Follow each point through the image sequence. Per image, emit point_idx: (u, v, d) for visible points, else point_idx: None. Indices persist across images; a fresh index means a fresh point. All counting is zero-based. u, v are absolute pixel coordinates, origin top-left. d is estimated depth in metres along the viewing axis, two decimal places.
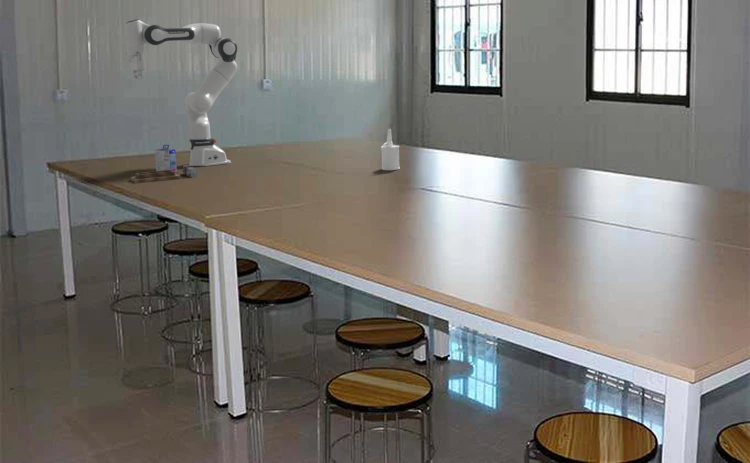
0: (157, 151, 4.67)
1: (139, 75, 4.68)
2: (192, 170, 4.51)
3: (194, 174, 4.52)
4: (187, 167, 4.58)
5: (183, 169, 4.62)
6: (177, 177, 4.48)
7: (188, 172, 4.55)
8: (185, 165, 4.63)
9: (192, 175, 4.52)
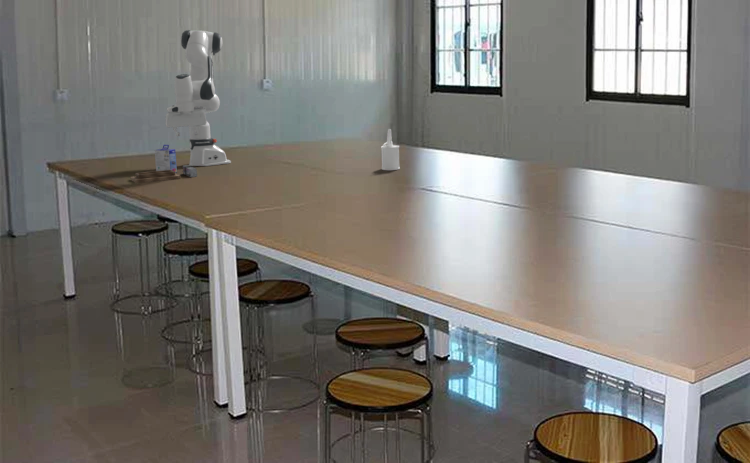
0: (157, 151, 4.67)
1: None
2: (192, 170, 4.51)
3: (194, 174, 4.52)
4: (187, 167, 4.58)
5: (183, 169, 4.62)
6: (177, 177, 4.48)
7: (188, 172, 4.55)
8: (185, 165, 4.63)
9: (192, 175, 4.52)
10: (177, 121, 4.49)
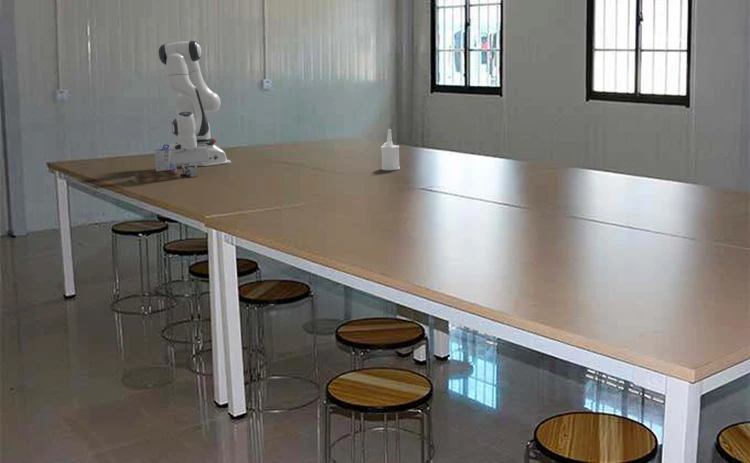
0: (157, 151, 4.67)
1: None
2: (192, 170, 4.51)
3: (194, 174, 4.52)
4: (187, 167, 4.58)
5: (183, 169, 4.62)
6: (177, 177, 4.48)
7: (188, 172, 4.55)
8: (185, 165, 4.63)
9: (192, 175, 4.52)
10: (180, 158, 4.53)
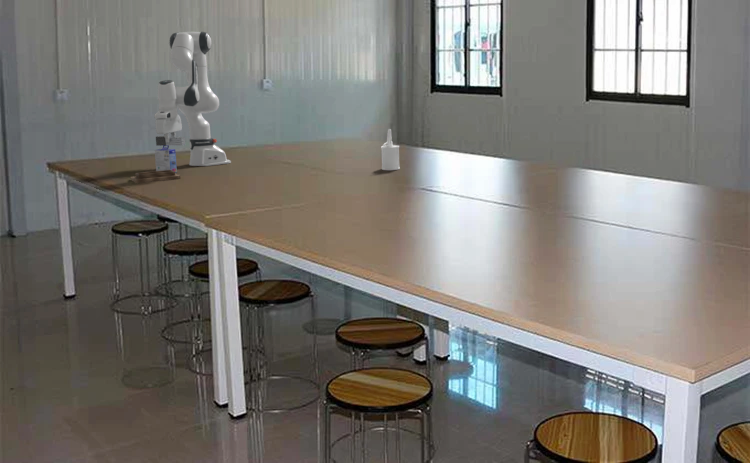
0: (157, 151, 4.67)
1: None
2: (182, 138, 4.47)
3: (183, 142, 4.48)
4: None
5: (157, 140, 4.49)
6: (177, 177, 4.48)
7: (174, 141, 4.47)
8: (158, 136, 4.50)
9: (182, 143, 4.47)
10: (167, 127, 4.43)
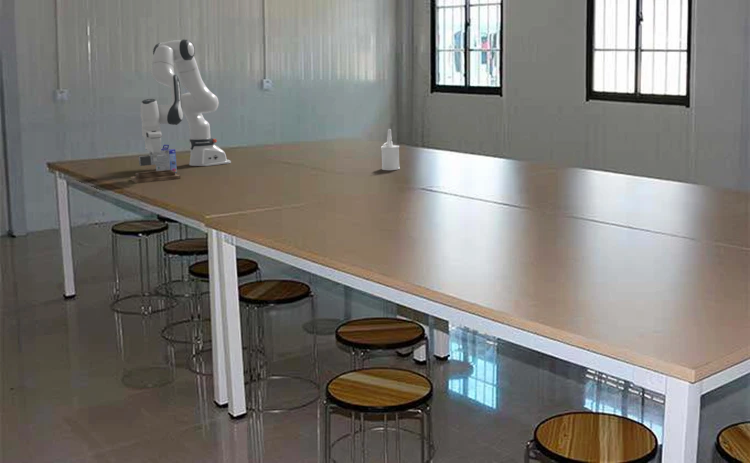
0: None
1: None
2: None
3: None
4: (152, 156, 4.45)
5: (142, 160, 4.43)
6: (177, 177, 4.48)
7: (160, 159, 4.47)
8: (141, 156, 4.43)
9: None
10: None
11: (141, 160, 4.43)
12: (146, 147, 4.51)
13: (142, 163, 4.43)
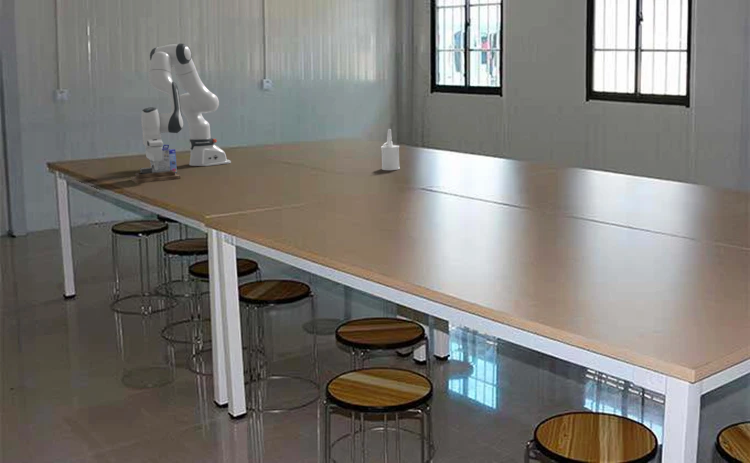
0: None
1: None
2: None
3: None
4: (153, 168, 4.47)
5: (144, 172, 4.44)
6: (177, 177, 4.48)
7: None
8: (142, 168, 4.45)
9: None
10: None
11: (143, 172, 4.44)
12: (147, 155, 4.52)
13: None
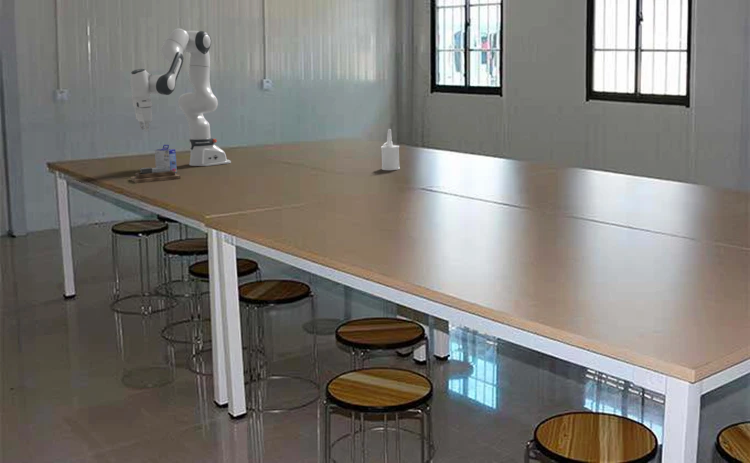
0: (157, 151, 4.67)
1: None
2: None
3: None
4: (153, 168, 4.47)
5: (144, 172, 4.44)
6: (177, 177, 4.48)
7: None
8: (142, 168, 4.45)
9: None
10: None
11: (143, 172, 4.44)
12: (136, 117, 4.56)
13: None
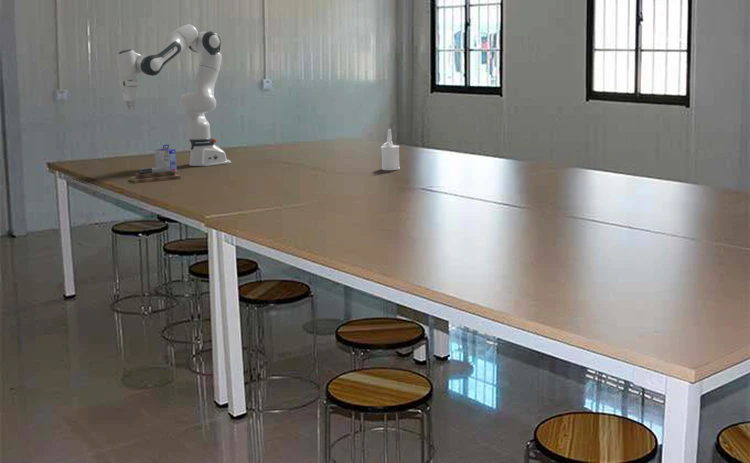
0: (157, 151, 4.67)
1: None
2: None
3: None
4: (153, 168, 4.47)
5: (144, 172, 4.44)
6: (177, 177, 4.48)
7: None
8: (142, 168, 4.45)
9: None
10: None
11: (143, 172, 4.44)
12: (123, 97, 4.67)
13: None
